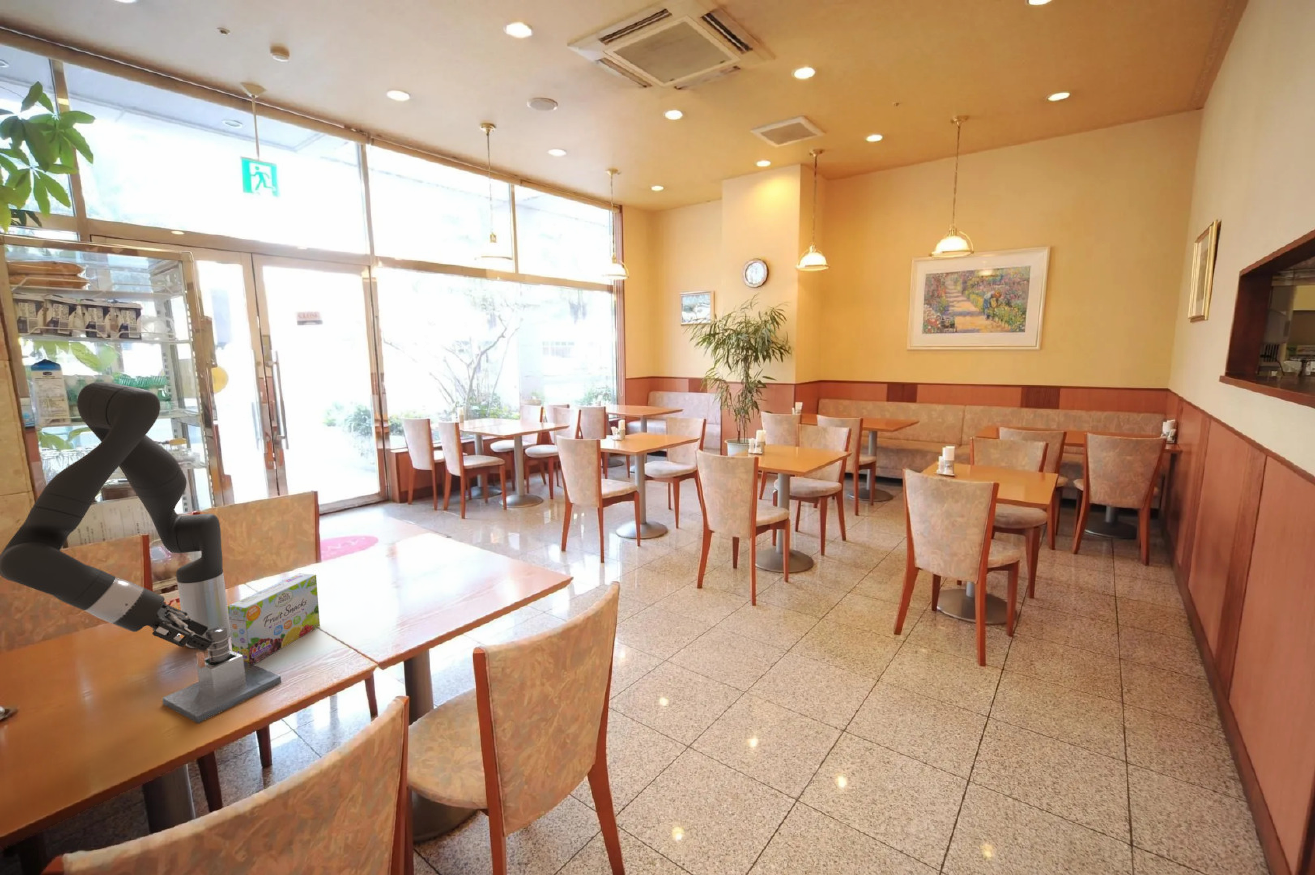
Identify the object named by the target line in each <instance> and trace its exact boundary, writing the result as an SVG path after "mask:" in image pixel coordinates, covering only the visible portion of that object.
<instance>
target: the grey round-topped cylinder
mask: <svg viewBox="0 0 1315 875" xmlns="http://www.w3.org/2000/svg"><path fill="white" fill-rule="evenodd" d="M206 638H207V639H210V640H211V641H212V644H211V645H210V646H209V647H208V649H207V650H206V651H207V656H208V657H209V664H210V665H212V666H216V665H218V664H220V663H223V662H225V661H227V660H230V659H231V658H230V650H231V649H230V642H229V637H228V634H227V628H226V627H216V628H213V629H210V630H208V631H207V632H206Z"/></svg>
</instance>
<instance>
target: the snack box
mask: <svg viewBox="0 0 1315 875" xmlns="http://www.w3.org/2000/svg"><path fill="white" fill-rule="evenodd" d="M317 583H318V582H317V574H314V573H313V574H312V573H297V574H295V575H293V576H291V577H289V578H287V579H284V580H282V581H279V582H278V583H275V584H274V585H271V586H269V587H267V588H265V589H262V590H260V591H258V592H256V593H253V594H251V595H249V596H246V597H244V598H243V599H241V600H238V601H236V602H233V603H231V604H229V605H227V606H228V616H229V626H230V644H231V651H233V652H236V653H238V654H240V655H243V661H244V662H245V661H246V662H248V663H251V664H253V665H256V664H257V663H260V662H261V661H263V660H264V659H266V658H268V657H269V656H271V655H272V654H274V653H277V652H278V651H280V650H282V649H283V648H284V647H286V646H288V645H290V644H292V643H294V642H295V641H297V640H299V639H300V638H302V637H304V636H306V635H307V634H309V633H311V632H312V631H314V630H316V629H318V628H319V627H320V626H321V621H320V610H319V597H318V596H319V594H318V584H317ZM318 626H319V627H318ZM315 628H316V629H315ZM311 630H312V631H311ZM310 631H311V632H310Z"/></svg>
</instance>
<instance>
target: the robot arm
mask: <svg viewBox="0 0 1315 875" xmlns="http://www.w3.org/2000/svg"><path fill="white" fill-rule="evenodd" d="M76 405H77V406H76V407H77V411H78V414H79V416H80V418H81V419H82V421H83V422H84V423H85V425H86V426H87V427H88V428H89V430H91V431H92V433H93V434H94V435H95V436H96V437H97V438H98V440H99V441H100V443H99V444H98V445H97V446H95V447H94V448H93V449H92V450H91V451H89V452H88V453H87V454H85V455H84V456H82V457H81V458H79V459H77V460H76V461H74V462H73V463H71V464H70V465H68V466H66V467H65V468H64V469H62V470H61V471H59V472H58V473H57V474H55V476H54V477H52V479H51V480H50V481H49V482H48V483H47V484H46V485H45V487H44V488H43V490H42V491H41V493H40V494H39V496H38V498H37V499H36V500H35V503H34V504H33V505H32V507H31V509H30V510H29V512H28V515H27V516H26V518H25V520H24V522H23V523H22V524H21V526H20V527H19V529H18V530H17V531H16V532H15V534H14V535H13V536H12V538H11V539H10V540H9V542H8V543H7V545H6V546H5V547H4V549H3V550H2V551H1V553H0V576H1V577H2V578H4V579H5V580H7V581H10V582H13V583H17V584H19V585H23V586H26V587H28V588H31V589H32V590H33V589H34V590H36V591H39V592H42V593H45V594H46V595H47V594H48V595H50V596H53V597H54V598H56V599H58V600H59V601H61V602H63V603H65V604H67V605H69V606H72V607H74V608H77V609H80V610H82V611H85V612H86V613H89V615H92V616H93V617H95V618H98V619H100V620H102V621H105V622H107V623H110V624H113V625H115V626H117V627H120V628H123V629H125V630H128V631H129V632H133V633H135V632H138V631H141V630H142V629H143V628H144V627H146V626H147V627H150V628H151V629H152V631H153V632H151V633H152V634H151V635H152V636H154V637H158V638H159V639H162V640H164V641H166V642H169V643H171V644H174V645H176V646H178V647H181V648H183V647H185V646H186V648H189V649H197V650H199V651H201V652H206V651H208V650H207V649H208V647H209V646H210V645H211V644H212V641H211V640H210V639H207V638H206V632H207V631H208V630H210V629H213V628H216V627H226V628H227V634H228V638H230V637H231V635H230V626H229V616H228V606H229V605H228V600H227V591H226V583H225V577H224V568H223V560H224V559H223V550H222V549H223V548H222V531H221V523H220V520H219V518H218V516H217V515H216V514H214V513H200V514H191V515H189V514H188V515H180V514H178V513H177V512H176V511H175V508H176V506H177V504H178V503H179V502H180V500H181V498H182V496H183V495H184V494H185V491H186V488H187V484H188V482H187V478H186V475H185V474H184V471H183V470H182V467H181V465H180V464H179V462H178V461H177V459H176V457H175V456H173V455H172V454H171V453H170V452H169V451H168V450H167V449H165V448H164V447H163V445H162V446H161V445H160V444H159V443H157V442H156V441H154V439H152V438H151V437H149V436H148V435H147V434H148V433H149V431H150V430H151V429H152V427H153V426H154V424H155V423H156V422H157V420H158V417H159V416H160V411H161V402H160V399H159V397H158V396H157V395H156V393H154V392H152V391H150V390H148V389H143V388H139V387H135V386H129V385H124V384H120V383H115V382H107V381H98V382H97V381H95V382H91V383H89V384H87V385H85V386H84V387H82V389H81V390H80V392H79V393H78V396H77V401H76ZM118 468H120V470H121V472H122V473H123V475H124V476H125V479H126V481H127V482H128V484H129V485H130V487H131V489H132V490H133V492H134V493H135V494H136V497H138V500H140V502H141V503H142V505H143V506H144V508H145V509H146V511H147V514H148V515H149V517H150V519H151V520H152V524H154V527H155V530H156V533H157V534H158V537H159V539H160V541H161V543H162V544H163V546H164V548H165V549H166V550H167V551H168V552H170V553H173V554H182V553H183V554H184V553H194V552H201V553H200V557H199V558H197V559H196V560H193V561H190V562H188V563H186V564H184V565H182V566H180V567H179V568H177V570H176V572H175V573H176V575H175V576H176V584H177V590H178V599H179V603H180V604H179V605H180V609H179V608H176V607H173V606H171V605H168V604H167V603H165V597H164V596H163V595H161V594H159V593H157V592H154V591H152V590H150V589H148V588H145V587H143V586H140V585H138V584H137V583H134V582H133V581H129V580H127V579H123V578H121V577H120V578H119V577H117V576H115V575H112V574H111V573H108V572H106V571H104V570H102V569H99V568H98V567H94V566H91V565H87V564H86V563H83V562H81V561H80V560H78V559H76V558H74V557H73V556H70V555H69V554H67V553H65V552H63V551H61V549H62V548H63V546H64V544H65V542H66V541H67V539H68V538H69V536H70V534H72V533H73V532H75V530H76V529H77V527H78V526H79V525H80V524H81V522H82V521H83V519H84V518H85V516H86V514H87V512H88V511H89V509H90V507H91V506H92V503H93V502H94V501H95V499H96V497H97V495H98V494H99V492H100V491H101V489H102V488H103V486H104V485H105V484H106V482H107V481H108V480H109V478H110V477H111V476H112V475H113V473H114V472H115V471H116V470H117V469H118ZM181 635H182V636H183V637H180V636H181Z"/></svg>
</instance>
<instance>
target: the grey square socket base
mask: <svg viewBox="0 0 1315 875" xmlns="http://www.w3.org/2000/svg"><path fill="white" fill-rule="evenodd" d="M195 655H196V660H197V662H195V663H196V671H197V678H198V681H197V682H195V683H193V684H190V685H188V686H185V687H184V688H181V689H179V690H177V691H175V692H172V693H170V694H168V695H165V696H163V697H162V698H161V699H162V704H163V705H164V706H165V707H167V708H169V709H171V710H173V711H175V712H176V713H178V714H180V715H182V716H184V717H185V718H187V719H189V720H191V721H193V722H194V723H196V722H197V723H196V724H200V723H202V722H204V721H206V720H208V719H210V718H212V717H214V716H216V715H219V714H220V713H222V712H224V711H226V710H228V709H230V708H233V707H235V706H236V705H239V704H241V703H242V702H245V701H247V700H249V699H251V698H253V697H254V695H255V696H256V694H257V695H258V694H260V693H262V692H264V691H267V690H269V689H272V688H273V687H275V686H277V685H279V684H281V683H282V678H281V677H282V676H281V675H279V674H277V673H274V672H272V671H269V670H267V669H266V668H265V669H264V668H263V667H261V666H258V665H256V664H254V665H253V664H251V663H248V662H246V661H245V662H244V661H243V655H240V654H238V653H236V652H233V651H232V649H230V658H231V659H230V660H227V661H225V662H223V663H220V664H218V665H216V666H212V665H210V664H209V656H208V657H205V653H204V652H203V651H199V652H197V653H196V654H195ZM248 698H249V699H248ZM246 699H247V700H246ZM244 700H245V701H244ZM238 703H239V704H238ZM221 711H222V712H221ZM219 712H220V713H219ZM213 715H214V716H213ZM211 716H212V717H211ZM209 717H210V718H209ZM205 719H206V720H205ZM203 720H204V721H203ZM201 721H202V722H201Z"/></svg>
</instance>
